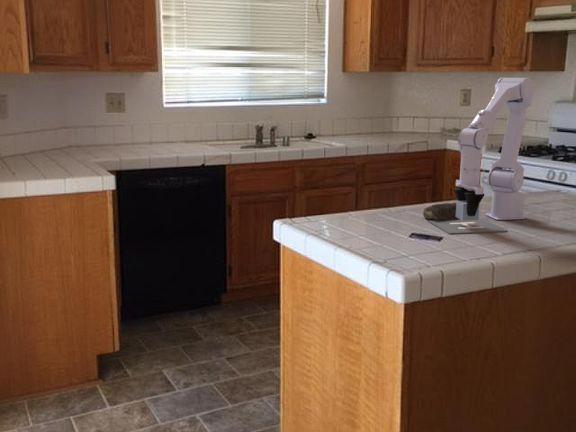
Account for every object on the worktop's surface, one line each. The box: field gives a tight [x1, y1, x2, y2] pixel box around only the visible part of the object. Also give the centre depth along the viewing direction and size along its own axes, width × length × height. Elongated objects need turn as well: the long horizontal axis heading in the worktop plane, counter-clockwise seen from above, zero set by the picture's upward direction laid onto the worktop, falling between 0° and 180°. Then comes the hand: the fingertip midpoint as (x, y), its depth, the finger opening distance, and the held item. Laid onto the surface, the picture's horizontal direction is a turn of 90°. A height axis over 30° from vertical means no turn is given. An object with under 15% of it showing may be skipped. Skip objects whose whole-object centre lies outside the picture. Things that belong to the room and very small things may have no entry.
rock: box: [422, 201, 459, 220], centre depth 205 cm, size 8×16×4 cm, turn 123°
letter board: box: [427, 218, 508, 235], centre depth 194 cm, size 18×16×1 cm
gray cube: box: [455, 200, 480, 220], centre depth 193 cm, size 5×5×5 cm
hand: (467, 213), depth 193 cm, fingers closed on gray cube, 5 cm apart
